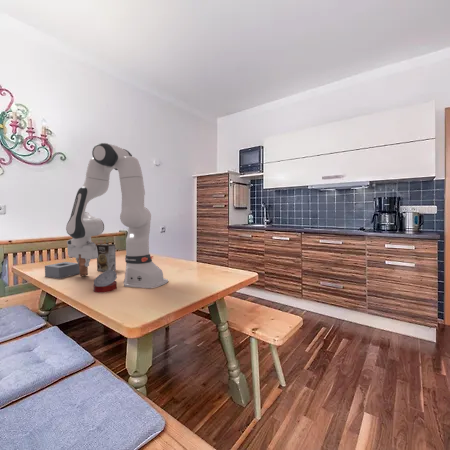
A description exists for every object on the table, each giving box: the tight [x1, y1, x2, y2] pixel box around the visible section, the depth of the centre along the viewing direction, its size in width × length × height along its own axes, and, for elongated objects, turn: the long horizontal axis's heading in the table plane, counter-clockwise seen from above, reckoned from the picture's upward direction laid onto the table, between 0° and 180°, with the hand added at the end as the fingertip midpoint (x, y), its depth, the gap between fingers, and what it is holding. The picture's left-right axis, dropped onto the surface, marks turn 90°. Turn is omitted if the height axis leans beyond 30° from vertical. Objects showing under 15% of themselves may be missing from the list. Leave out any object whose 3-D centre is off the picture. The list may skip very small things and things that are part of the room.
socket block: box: [44, 261, 80, 280], centre depth 144 cm, size 12×12×6 cm
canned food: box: [93, 270, 118, 294], centre depth 118 cm, size 11×10×10 cm
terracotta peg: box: [79, 254, 89, 277], centre depth 140 cm, size 4×4×12 cm
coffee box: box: [96, 243, 117, 272], centre depth 155 cm, size 9×6×16 cm
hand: (83, 266), depth 140 cm, fingers closed on terracotta peg, 4 cm apart
